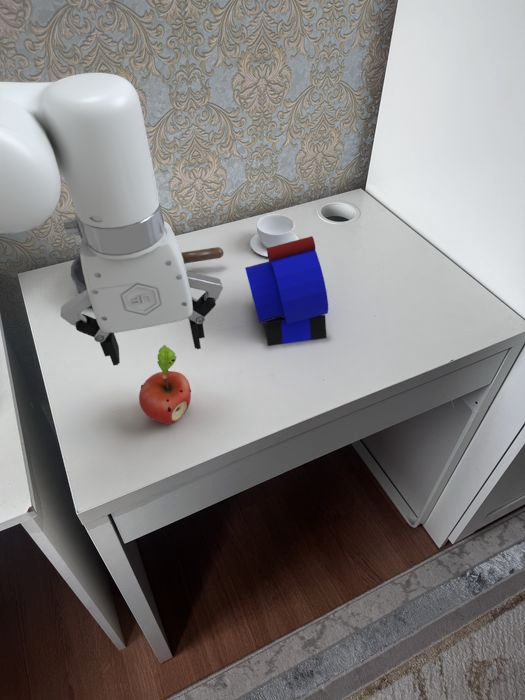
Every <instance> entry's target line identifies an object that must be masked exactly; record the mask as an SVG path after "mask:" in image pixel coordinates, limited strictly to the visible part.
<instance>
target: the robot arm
mask: <svg viewBox="0 0 525 700" xmlns="http://www.w3.org/2000/svg"><path fill="white" fill-rule="evenodd" d="M144 119H145V118H144V115H143V109H142V104H141V101H140V97H139V94H138V91H137V89H136V88H135V87H134V85H133V84H132V83H131V82H130V81H129V80H127V79H126V78H125V77H123V76H120V75H118V74H113V73H108V72H85V73H78V74H73V75H69V76H66V77H63V78H60V79H58V80H56V81H46V82H45V81H44V82H43V81H42V82H41V81H40V82H37V81H36V82H33V81H31V82H27V81H26V82H22V81H0V234H6V235H7V234H8V235H9V234H17V233H24V232H28V231H31V230H34V229H35V228H38V227H39V226H41V225H42V224H44V223H45V222H46V221H47V220H48V219H50V218H51V216H52V215H53V213H54V212H55V210H56V209H57V206H58V204H59V201H60V197H61V192H62V181H61V176H62V177H63V179H64V181H65V184H66V187H67V190H68V194H69V197H70V199H71V202H72V204H73V207H74V211H75V215H74V217H71V218H70V219H68V220H63V222H62V224H63V229H64V232H65V235H66V236H73V235H74V236H79V237H80V238H81V241H80V245H79V255H80V258H81V264H82V270H83V275H84V279H85V283H86V287H87V289H86V290H85V291H83V292H82V293H80V294H79V295H78V294H77V295H76V296H74V297H73V298H71V299H69V300H68V301H67V302H65V303H63V304H62V305H61V306H60V317H61V318H62V319H63V320H64V321H65V322H67V323H69V325H71V326H74V327H75V330H76V331H78V332H79V333H82V334H85V335H87V336H90V337H92V338H93V341H94V342H96V343H99V344H100V347H101V350H102V352H103V355H104V357H110V360H111V363H112V365H113V366H118V365H119V364H121V362H120V361H121V359H120V345H119V344H118V340H117V338H116V335H115V333H116V334H117V333H124V332H130V331H135V330H141V329H147V328H151V327H156V326H162V325H168V324H173V323H178V322H182V321H184V320H186V319H187V320H189V327H190V332H191V337H192V341H193V346H194V347H193V348H194V349H195V350H201V349H202V346H201V340H200V339H204V338H205V330H204V322H205V321H206V319H205V317H206V316H207V315H208V314H209V313H210V312H211V311H212V310H213V309H214V308H215V307H216V305H217V304H216V302H217V300H218V299H219V297H220V295H221V293H222V291H223V289H224V287H223V284H222V281H221V279H220V278H219V277H213V276H211V275H210V276H209V275H206V274H201V273H197V272H192V271H188V270H187V269H186V265H185V264H184V260H183V257H182V251H181V248H180V245H179V242H178V240H177V237H176V235H175V232H174V231H173V229H172V226H171V225H170V224H169V223H168V222H167V221H165V220H164V216H163V212H162V205H161V200H160V196H159V190H158V185H157V181H156V180H157V179H156V176H155V175H156V174H155V170H154V163H153V159H152V156H151V150H150V144H149V139H148V134H147V129H146V125H145V124H146V123H145V120H144ZM191 289H195V290H199V291H204V293H203V294H202V295H201V296H200V297H199V298H198V299H197V298H195V297H193V296H192V291H191ZM91 306H92V310H93V314H94V317H95V318H94V317H92V316H89V315H87V314H85V313H82V312H84V311H86V310H87V309H88V308H90V307H91Z"/></svg>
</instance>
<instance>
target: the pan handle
mask: <svg viewBox="0 0 525 700" xmlns="http://www.w3.org/2000/svg"><path fill="white" fill-rule="evenodd" d="M181 253H182V257H183V260H184V265H185V264H190V263H192V264H193V263H197V262H204V261H211V260H218V259H221V258H222V257H223V256H224V250H223V249H222V248H221V247H219V246H216V247H209V248H202V249H196V250H190V251H181Z"/></svg>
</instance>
